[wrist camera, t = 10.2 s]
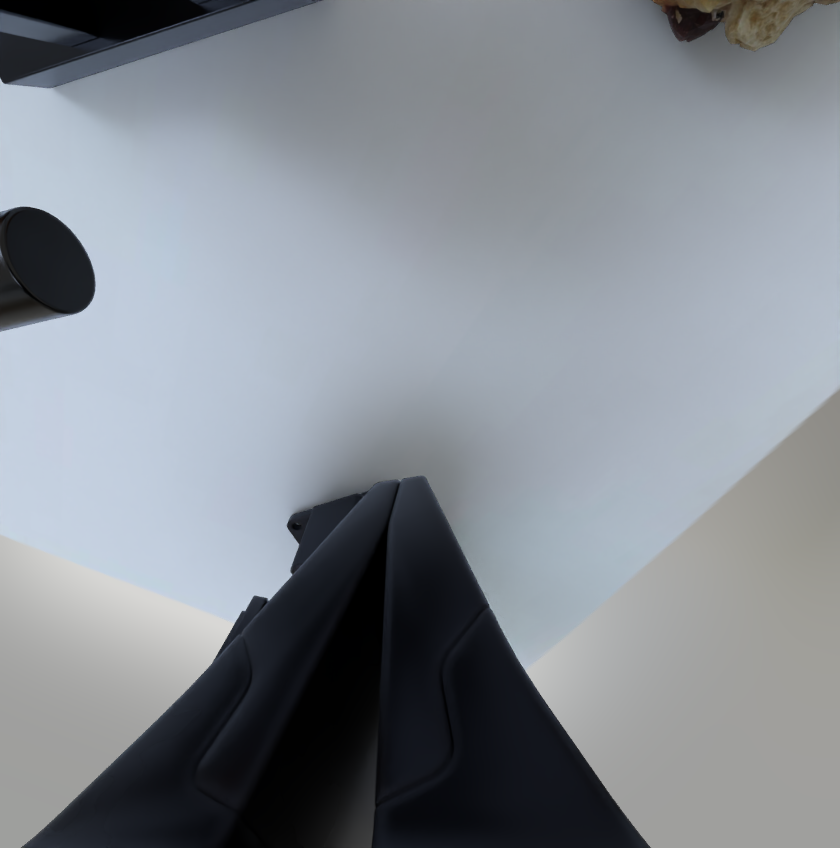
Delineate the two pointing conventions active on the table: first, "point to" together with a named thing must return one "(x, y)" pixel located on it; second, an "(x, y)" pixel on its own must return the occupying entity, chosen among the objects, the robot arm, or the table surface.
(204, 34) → the stand
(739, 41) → the bread roll
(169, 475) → the table surface
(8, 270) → the brown black t-shaped piece
